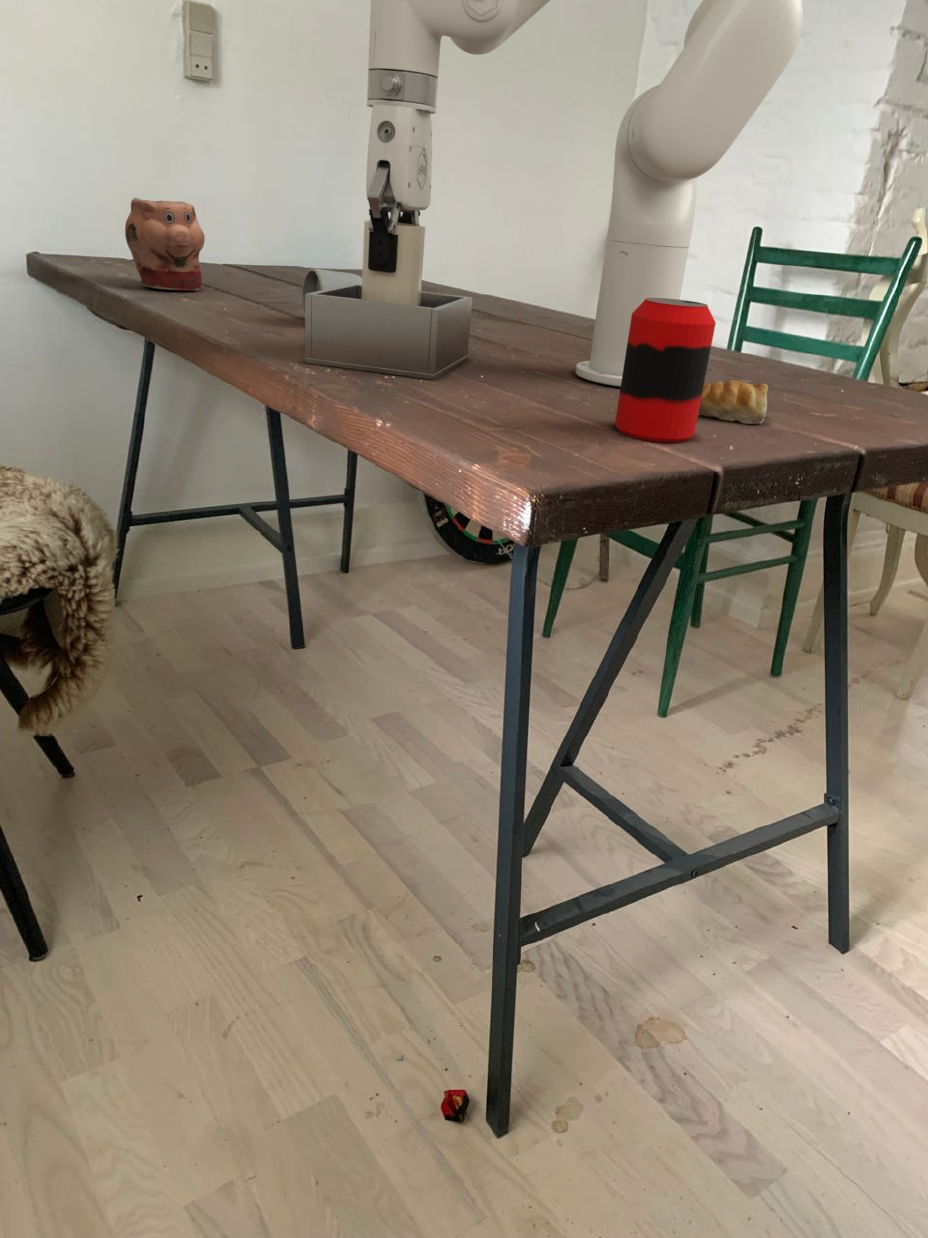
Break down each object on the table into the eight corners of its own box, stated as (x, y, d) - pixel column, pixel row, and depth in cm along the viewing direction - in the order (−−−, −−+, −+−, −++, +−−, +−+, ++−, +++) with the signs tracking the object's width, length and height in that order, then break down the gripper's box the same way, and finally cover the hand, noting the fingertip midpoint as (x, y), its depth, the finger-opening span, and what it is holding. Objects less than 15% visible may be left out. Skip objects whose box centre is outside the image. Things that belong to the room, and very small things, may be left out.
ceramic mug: (372, 328, 132) (374, 272, 129) (320, 329, 128) (321, 270, 125) (341, 318, 140) (341, 265, 137) (291, 318, 136) (290, 263, 133)
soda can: (710, 440, 86) (736, 308, 81) (652, 445, 82) (676, 307, 77) (654, 421, 92) (676, 296, 87) (598, 425, 88) (617, 295, 83)
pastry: (675, 415, 95) (682, 378, 94) (675, 403, 101) (681, 368, 100) (766, 426, 94) (775, 389, 92) (761, 413, 100) (769, 378, 98)
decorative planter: (109, 280, 159) (101, 192, 153) (175, 280, 166) (171, 197, 160) (157, 295, 146) (151, 200, 140) (226, 295, 153) (224, 205, 147)
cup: (426, 306, 110) (432, 226, 106) (409, 312, 104) (414, 227, 100) (372, 299, 111) (376, 219, 107) (352, 304, 105) (355, 220, 101)
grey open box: (467, 359, 116) (472, 297, 112) (434, 380, 102) (438, 309, 98) (352, 345, 118) (353, 283, 115) (304, 362, 105) (305, 293, 101)
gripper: (411, 87, 90) (400, 278, 97) (455, 105, 105) (443, 269, 113) (340, 81, 91) (334, 270, 99) (394, 100, 106) (386, 262, 114)
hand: (392, 268), depth 106 cm, fingers closed on cup, 7 cm apart
